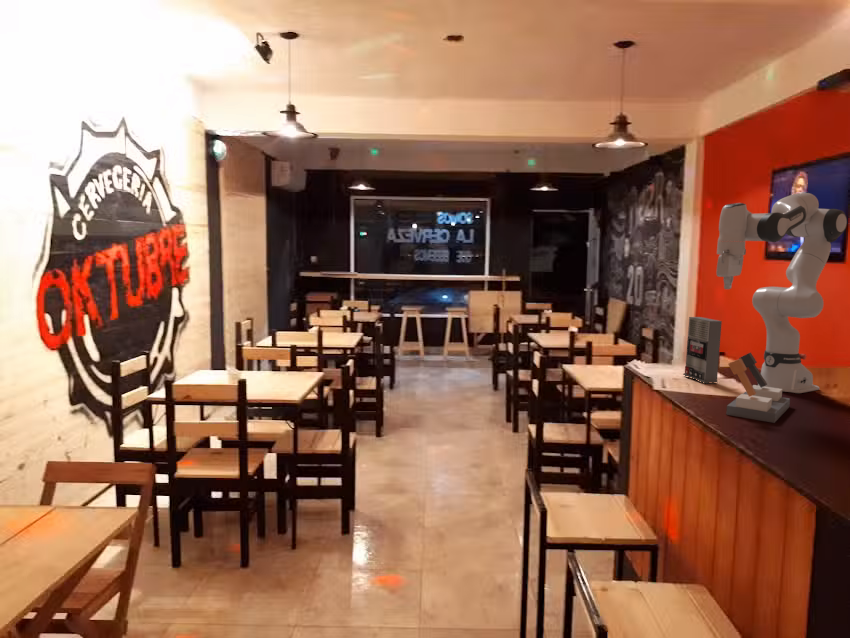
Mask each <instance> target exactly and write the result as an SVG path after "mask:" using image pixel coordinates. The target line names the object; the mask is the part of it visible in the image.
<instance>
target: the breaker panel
mask: <svg viewBox="0 0 850 638" xmlns="http://www.w3.org/2000/svg"><path fill="white" fill-rule="evenodd" d="M752 386H753V388H754V390H755V392H756V394H755V395H752V396H750V397H749V396H748V394H747V392H746V391H745V392H743V393H741V394H739V395H738V396H737V397H736V398H735V399H734V400H733V401H731V402H730V403H728V404H727V405H726V412H725V413H726V415H727V416H733V417H739V418H743V419H750V420H756V421H762V422H767V423H773V424H775V423H776V422H777V421H778V420H779V419H780V418H781V417H782V416H783V414H785V412H786V411H787V410H788V409H790V403H791V398H788V397H782V396H783V391H782V389H779V388H772V387H765V386H764V387H760V386H758V384H757V385H756V384H753V385H752Z"/></svg>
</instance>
